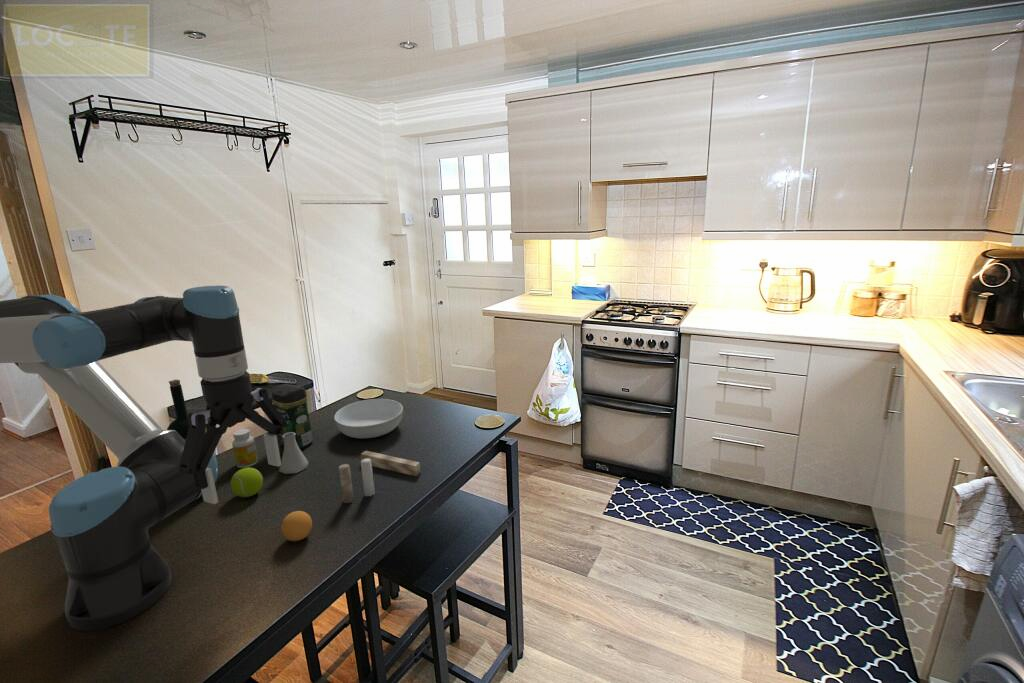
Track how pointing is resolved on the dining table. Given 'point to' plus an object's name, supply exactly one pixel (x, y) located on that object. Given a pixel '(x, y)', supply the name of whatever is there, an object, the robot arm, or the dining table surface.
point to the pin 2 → (367, 477)
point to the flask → (292, 456)
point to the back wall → (392, 463)
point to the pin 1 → (346, 483)
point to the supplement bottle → (244, 448)
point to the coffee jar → (293, 412)
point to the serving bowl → (369, 418)
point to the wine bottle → (181, 416)
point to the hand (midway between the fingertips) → (245, 482)
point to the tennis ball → (246, 482)
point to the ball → (296, 526)
